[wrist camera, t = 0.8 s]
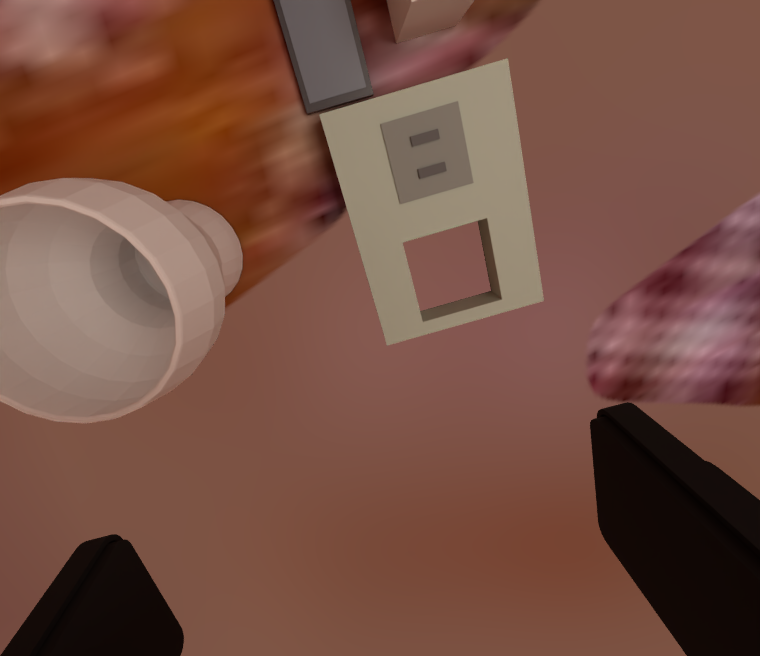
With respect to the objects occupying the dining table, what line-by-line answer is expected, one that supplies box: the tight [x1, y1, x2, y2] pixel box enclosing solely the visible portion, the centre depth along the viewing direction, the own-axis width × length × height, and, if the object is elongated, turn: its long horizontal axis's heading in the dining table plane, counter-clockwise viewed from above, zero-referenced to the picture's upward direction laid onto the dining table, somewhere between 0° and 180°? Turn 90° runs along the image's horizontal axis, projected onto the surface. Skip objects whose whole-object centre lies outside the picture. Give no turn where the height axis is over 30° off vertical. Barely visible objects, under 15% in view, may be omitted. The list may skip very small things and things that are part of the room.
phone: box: [274, 0, 373, 115], centre depth 27 cm, size 8×4×1 cm, turn 15°
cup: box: [0, 178, 243, 423], centre depth 24 cm, size 11×11×15 cm
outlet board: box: [319, 58, 544, 345], centre depth 30 cm, size 16×12×3 cm
